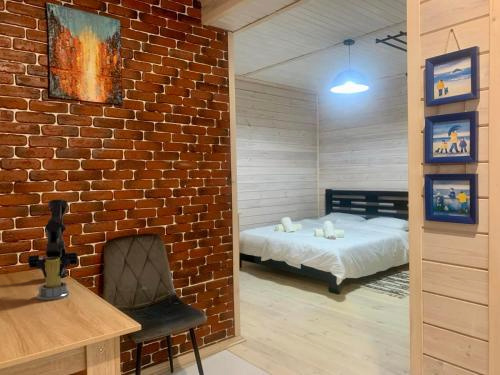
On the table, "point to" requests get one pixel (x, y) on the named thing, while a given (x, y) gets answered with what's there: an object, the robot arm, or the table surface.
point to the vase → (53, 272)
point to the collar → (52, 292)
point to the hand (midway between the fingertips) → (52, 276)
